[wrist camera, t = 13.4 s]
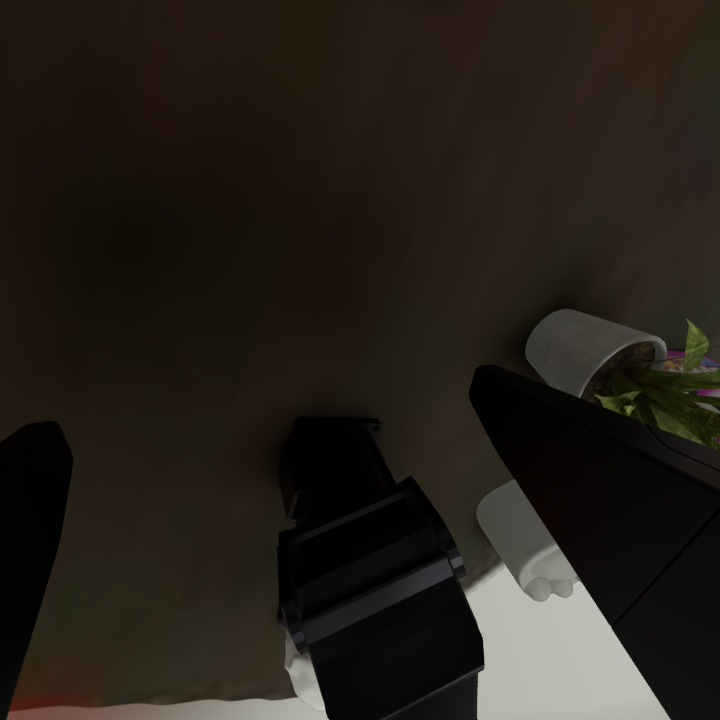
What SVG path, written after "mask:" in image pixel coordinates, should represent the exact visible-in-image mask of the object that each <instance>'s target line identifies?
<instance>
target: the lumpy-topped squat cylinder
mask: <svg viewBox="0 0 720 720" xmlns="http://www.w3.org/2000/svg"><path fill="white" fill-rule="evenodd" d="M476 516H477V519H478V522H479V525H480V527H481V528H482V530H483V531H484V533H485V534H486V536H487V537H488V539H489V540H490V542H491V543H492V545H493V547H494V548H495V550H496V551H497V553H498V554H499V556H500V557H501V559H502V560H503V562H504V563H505V565H506V566H507V568H508V569H509V571H510V572H511V574H512V575H513V577H514V578H515V580H516V582H517V583H518V585H519V586H520V588H521V589H522V590H523V592H525V593H526V594H527V595H529V596H530V597H531V598H532V599H533V600H535V601H538V602H543V601H545V600H547V598H549V596H550V594H552V593H554V594H556V595H558V596H560V597H563V598H567V597H569V596H570V595H571V594H572V592H573V584H574V583H576V582H577V581H580V582H581V580H580V579H579V577H578V576H577V574H576V573H575V571H574V570H573V568H572V567H571V565H570V564H569V562H568V560H567V559H566V557H565V556H564V554H563V553H562V551H561V550H560V548H559V547H558V545H557V544H556V542H555V541H554V539H553V537H552V536H551V534H550V533H549V531H548V530H547V528H546V527H545V525H544V524H543V522H542V521H541V519H540V517H539V516H538V514H537V513H536V511H535V510H534V508H533V507H532V505H531V504H530V502H529V501H528V499H527V498H526V496H525V494H524V493H523V491H522V490H521V488H520V487H519V485H518V484H517V482H516V481H515V479H513V480H511V481H510V482H508V483H506V484H504V485H502V486H500V487H498V488H497V489H495V490H493V491H492V492H490V493H489V494H487V495H486V496H485V497H484V498H483V499H482V501H481V502H480V503H479V505H478V507H477V511H476Z"/></svg>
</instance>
